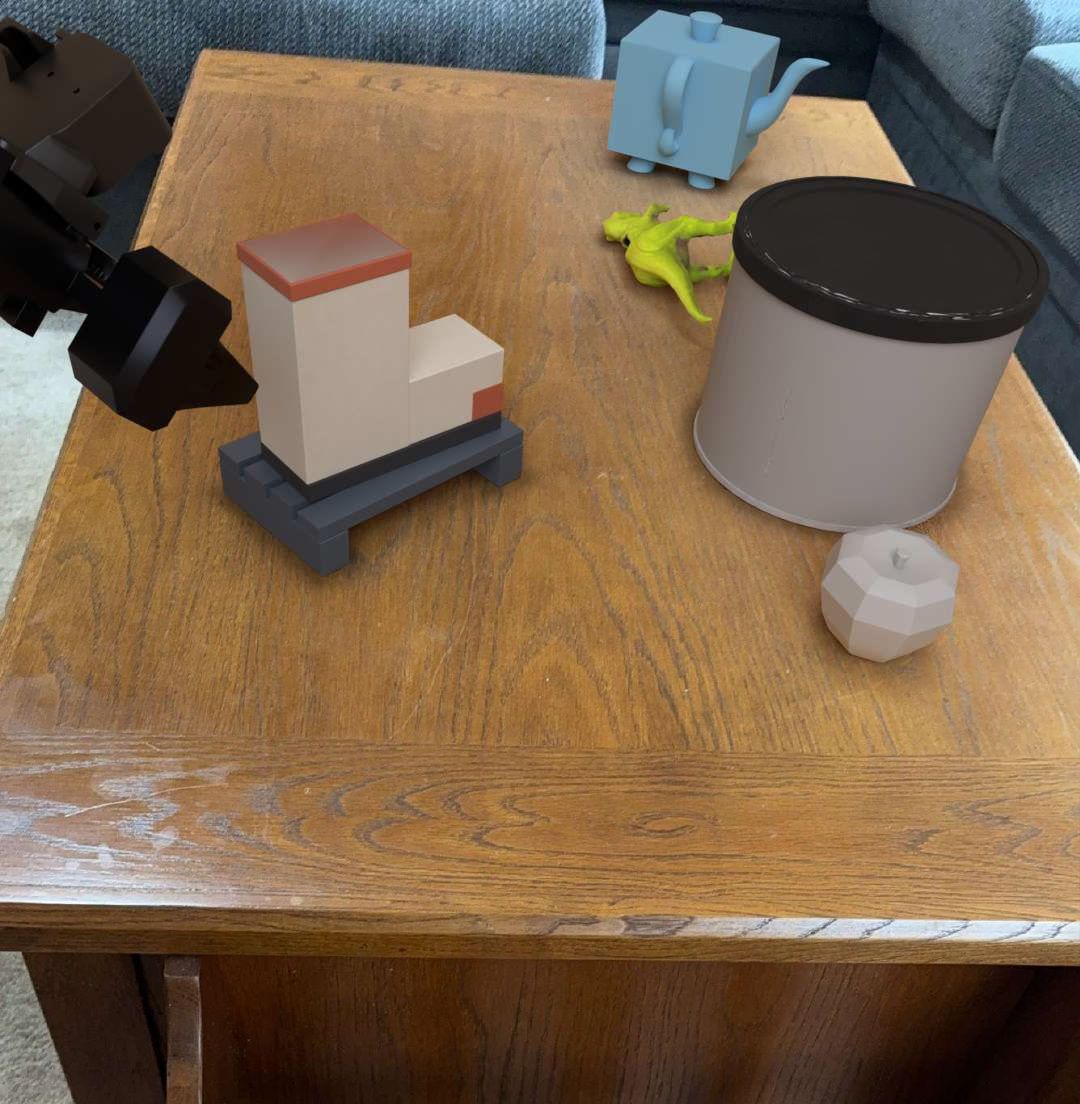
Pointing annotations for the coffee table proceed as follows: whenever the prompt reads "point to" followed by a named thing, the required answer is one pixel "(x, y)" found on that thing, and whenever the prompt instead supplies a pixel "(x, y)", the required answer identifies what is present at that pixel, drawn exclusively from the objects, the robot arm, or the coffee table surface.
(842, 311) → the container
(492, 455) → the grey shipping pallet
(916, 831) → the coffee table surface
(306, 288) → the cream boot
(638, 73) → the teapot
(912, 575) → the apple
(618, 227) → the dinosaur figurine
